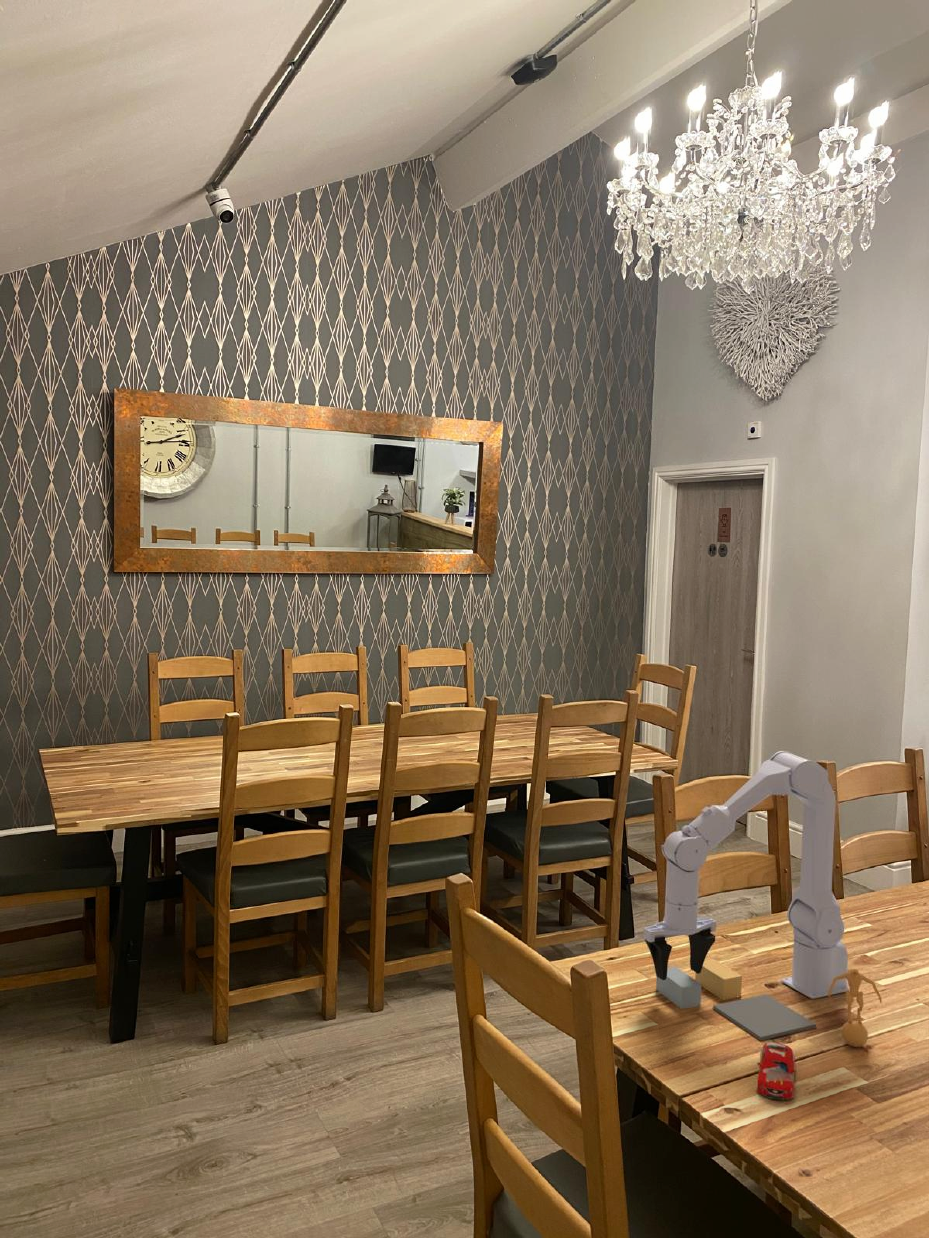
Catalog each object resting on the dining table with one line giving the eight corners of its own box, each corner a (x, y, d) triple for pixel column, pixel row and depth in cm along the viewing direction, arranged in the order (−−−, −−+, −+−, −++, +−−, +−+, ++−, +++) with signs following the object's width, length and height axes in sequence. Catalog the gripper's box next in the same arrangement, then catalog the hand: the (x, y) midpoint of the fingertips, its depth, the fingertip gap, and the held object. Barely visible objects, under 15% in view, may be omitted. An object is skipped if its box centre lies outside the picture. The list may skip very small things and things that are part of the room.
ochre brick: (712, 979, 179) (713, 958, 178) (741, 997, 171) (741, 975, 171) (695, 982, 177) (695, 961, 177) (723, 1001, 170) (724, 979, 170)
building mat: (766, 997, 171) (766, 993, 171) (816, 1027, 160) (816, 1023, 160) (713, 1008, 166) (713, 1005, 166) (760, 1040, 155) (760, 1036, 155)
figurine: (829, 1047, 154) (832, 975, 153) (823, 1030, 159) (826, 960, 159) (883, 1054, 152) (887, 981, 151) (876, 1036, 158) (879, 966, 157)
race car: (793, 1108, 137) (794, 1081, 136) (754, 1099, 139) (755, 1073, 138) (797, 1063, 149) (798, 1039, 149) (761, 1056, 151) (762, 1032, 151)
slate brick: (674, 987, 175) (675, 966, 175) (700, 1006, 168) (701, 984, 167) (656, 990, 173) (656, 968, 173) (681, 1009, 166) (682, 987, 166)
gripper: (700, 888, 176) (696, 959, 177) (634, 897, 170) (631, 971, 171) (725, 900, 170) (721, 974, 170) (658, 911, 164) (655, 987, 164)
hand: (678, 974), depth 170 cm, fingers open, 7 cm apart
